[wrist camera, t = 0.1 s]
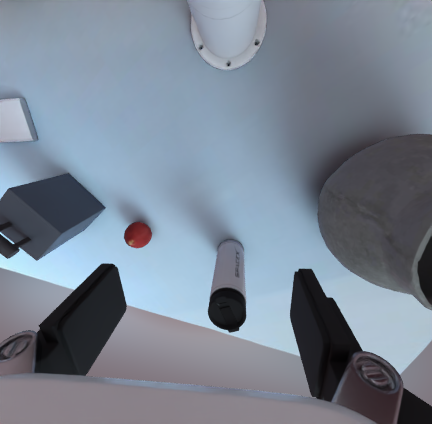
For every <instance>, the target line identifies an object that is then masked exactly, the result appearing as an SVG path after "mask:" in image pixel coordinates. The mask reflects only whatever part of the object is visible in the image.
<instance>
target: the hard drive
mask: <svg viewBox="0 0 432 424" xmlns="http://www.w3.org/2000/svg"><path fill="white" fill-rule="evenodd" d="M37 140H38V136H37V133H36V130H35V127H34V124H33V121H32V118H31V115H30V112H29V109H28V106H27V103H26V100H25V99H23V98H13V99H0V142H22V141H37Z"/></svg>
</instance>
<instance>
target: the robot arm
mask: <svg viewBox="0 0 432 424" xmlns="http://www.w3.org/2000/svg"><path fill="white" fill-rule="evenodd" d="M187 3H188V5H189V8H190V10H191V13H192V16H191V33H192V38H193V41H194V45H195V47H196V49H197V51H198V53H199V54H200V56H201V57H202V58H203V59H204V60H205V62H207V63H208V64H209V65H211V66H212V67H214V68H217V69H220V70H233V69H237V68H240V67H242V66H244V65H245V64H246V63H248V62H249V61H250V60H251V59H252V58H253V57H254V56H255V54H256V53H257V51H258V50H259V48H260V46H261V44H262V42H263V38H264V35H265V30H266V22H267V15H266V7H265V4H264V0H187ZM255 43H258V45H257V46H256V45H255ZM201 47H203V49H202V50H200V48H201ZM227 64H230V66H227ZM126 307H127V306H126V301H125V297H124V292H123V288H122V284H121V280H120V276H119V272H118V268H117V267H115V265H114V264H101V265H100V266H99V267H98V268H97V269H96V270H95V271H94V272H93V273H92V274H91V275H90V276H89V277H88V278H87V279H86V280H85V281H84V282H83V283H82V284H81V285H79V286H78V287H77V288H76V289H75V290H74V291H73V292H72V293H71V294H70V296H68V297H67V298H66V299H65V300H64V301H63V302H62V303H61V304H60V305H59V306H58V307H57V308H56V309H55V310H54V311H53V312H52V313H51V314H50V315H49V316H48V317H47V318H46V319H45V320H44V321H43V322H42V323H41V324H40V325H39V327H40V330H39V331H38V332H37V333H36V332H35V331H31V330H28V331H23V332H20V333H17V334H15V335H13V336H10V337H9V338H7V339H6V340H4V341H3V342H2V343H0V424H432V406H430V405H429V404H427V403H426V402H424V401H423V400H421V399H420V398H418V397H416V396H415V395H414V394H412V393H411V392H409V391H408V390H406V389H405V388H403V381H402V379H401V377H400V375H399V373H398V372H397V371H396V369H395V368H394V367H393V366H392V365H391V364H390V363H389V362H387V361H386V360H384V359H383V358H381V357H380V356H378V355H376V354H373V353H370V352H366V351H363V350H362V349H361V347H360V345H359V343H358V341H357V340H356V338H355V336H354V334H353V333H352V331H351V329H350V327H349V325H348V324H347V322H346V320H345V318H344V316H343V315H342V313H341V311H340V309H339V308H338V306H337V304H336V302H335V301H334V299H333V298H328V297H326V295H325V293H324V292H323V290H322V288H321V286H320V284H319V282H318V280H317V278H316V276H315V274H314V272H313V271H312V269H299V270H298V272H295V274H294V282H293V291H292V300H291V309H290V319H291V323H292V327H293V330H294V334H295V338H296V341H297V345H298V349H299V352H300V356H301V360H302V363H303V367H304V370H305V374H306V378H307V382H308V385H309V389H310V392H311V395H312V397H316V398H317V399H316V398H310V397H304V396H298V395H292V394H282V393H273V392H264V391H255V390H244V389H234V388H222V387H212V386H200V385H189V384H178V383H166V382H154V381H142V380H130V379H117V378H104V377H92V376H86V374H87V373H88V371H89V370H90V368H91V366H92V365H93V363H94V362H95V360H96V358H97V357H98V355H99V354H100V352H101V350H102V349H103V347H104V345H105V344H106V342H107V341H108V339H109V337H110V336H111V334H112V333H113V331H114V329H115V327H116V326H117V324H118V323H119V321H120V320H121V318H122V316H123V315H124V313H125V311H126Z"/></svg>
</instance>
